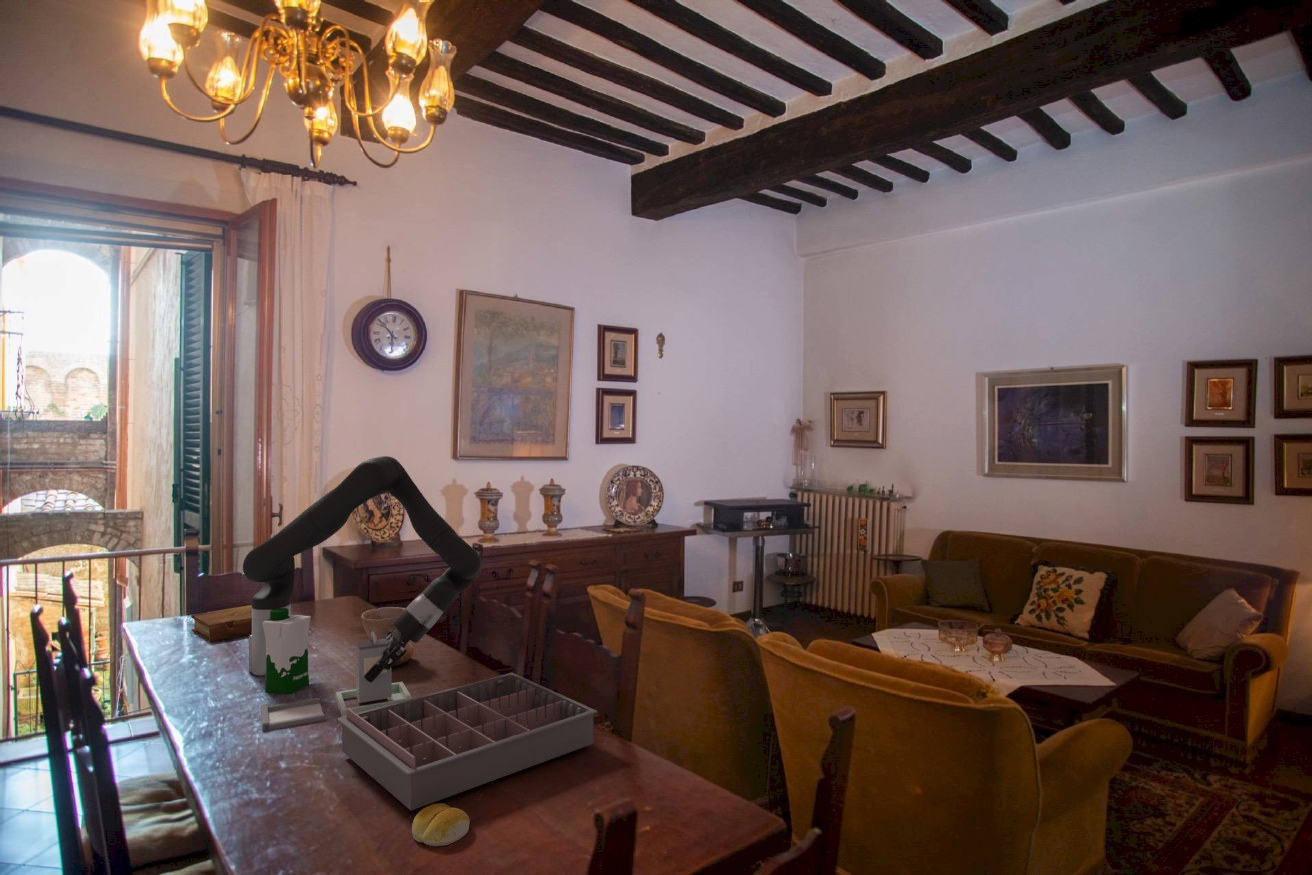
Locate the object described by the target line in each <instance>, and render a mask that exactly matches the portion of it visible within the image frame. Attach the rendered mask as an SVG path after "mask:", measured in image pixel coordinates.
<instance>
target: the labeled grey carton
mask: <svg viewBox="0 0 1312 875" xmlns="http://www.w3.org/2000/svg"><path fill="white" fill-rule="evenodd" d="M389 644H390V643H388V640H386V638H385V639H377V640H376V635H375V633H374V632H371V640H370V641H369V640H366V641H365V640H364V641H357V642H356V644H355V679H356V680H355V681H356V682H355V685H356V686H355V687H356V688H355V689H356V696H357V697H356V698H357V701H358V703H359V704H362V703H368V702H373V701H379V700H385V699H387V698H392V683H393V682H392V667H391V668H390V669H389V670H387V669H385V670H383V671H382V672H381V673H380V674H379V675H378V676H377V677H376V678H375V679H374V681H373V682H369V681H367V680H366V679H365V678H364V676H365V674H366V673H367V672H368V671H369V670H370V669H371V668H372V667H373V666H374V664H376V662H377V661H378V660H379V658H380V657H381V656H382V652H383V651H384V650H385V648H386V647H387V646H388V645H389ZM390 647H391V646H390ZM390 647H389V648H390ZM387 653H389V649H388V650H387ZM387 661H388V659H387V660H386V662H387Z"/></svg>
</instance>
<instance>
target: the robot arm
mask: <svg viewBox="0 0 1312 875" xmlns="http://www.w3.org/2000/svg"><path fill="white" fill-rule="evenodd" d="M387 493H388V494H389V495H391V496H392V497H393V498H395V499H396V500H397V501H398V502H399V503H400V504H401V506H402V507H403V509H404V510H405V512H406V514H407V516H408V519H409V521H410V524H411V526H412V528H413V530H414V531H415V533H416V534H417V535H418V537H419V538H420V539H421V540H422V541H423V542H424V543H425V544H426V546H428V547H429V548H430V549H431V550H432V551H433V552H434V553H435V554H437V555H439V557H440V558H441V559H442V561H444V563H445V564H446V565H447V566H448V568H447V569H446V570H445V571H444V572H443V574H442V575H440V576H439V577H436V578H435V579H434V580H432V581H431V582H430V583H429V584H428V585H427V586H426V587H425V588H424V590H422V592H421V593H419V595H418V596H416V597H415V598H414V599H413V600H412V601H411V602H410V603H409V604H408V605H407V606H406V607H405V610H404V611H403V612H402V613H401V614H400V615H399V616H398V617H397V619H396V620H395V621H394V622H393V624H394V626H395V627H396V628H397V629H396V630H395V631H394V632H393V633H392V632H391V631H388V632H387V633H386V635H385V636H384V637H383V638H382V639H385V638H386V640H388V643H390V644H389V645H388V646H387V647H386V648H385V650H384V651H383V652H382V656H381V657H380V658H379V660H378V661H377V662H376V664H374V666H373V667H372V668H371V669H370V670H369V671H368V672H367V673H366V674H365V676H364V678H365V679H366V680H367V681H369V682H373V681H374V679H375V678H376V677H377V676H378V675H379V674H380V673H381V672H382V671H383V670H385V669H387V670H389V669H390V668H391V669H392V666H393V665H394V664H395V663H396V662H397V661H398V660H399V659H400V658H401V657H402V656H403V655H404V654H405V653H406V652H407V650H406V649H405V646H406V645H407V643H408V642H409V643H410V641H411V642H413V643H414V644H418V643H419V642H420V641H421V639H422V638H424V636H425V635H426V634H427V633H428V632H429V631H430V629H431V628H432V627H433V626H434V625H435V624H436V623H437V621H439V619H440V617H441V616H442V615H443V613H445V612H446V610H447V609H448V608H449V607H450V605H452V604H453V602H454V601H455V599H457V597H458V596H459V595H460V594H462V592H463V591H465V590H466V589H467V588H468V587H469V586H470V585H472V583H473V582H475V580H476V579H477V578H478V577H480V574H481V573H482V570H483V565H484V564H483V560H482V558H481V556H480V554H479V553H478V552H477V551H476V550H475V549H474V548H473V547H472V546H471V545H470V544H469V543H468V542H466V541H465V540H464V539H463V538H462V537H461V536H459V534H458V533H457V532H456V530H454V528H453V527H452V526H451V525H450V524H449V523H448V522H447V521H446V520H445V519H444V518H443V517H442V516H441V514H439V513H438V512H437V511H436V510H435V508H434V507H433V506H432V505H431V504H430V503H429V501H428V499H427V498H425V496H424V494H423V493H422V492H421V491H420V488H418V486H417V485H416V483H415V482H414V481H413V479H412V478H411V476H410V475H409V473H408V471H407V470H406V469H405V467H404V466H403V465H402V464H401V463H400V461H399V460H398V459H396V458H394V457H393V456H387V455H385V456H378V457H373V458H369V459H365V460H363V461H362V462H360V463H359V464H358V465H357V466H356V467H355V468H353V470H352V471H350V473H349V474H348V475H347V476H346V477H345V478H344V479H343V480H342V481H341V482H340V483H339V484H338V485H337V486H336V487H334V488H333V489H332V490H330V491H329V492H327V493H326V494H324V495H323V496H321V498H319V499H318V500H316V501H315V502H314V503H312V504H311V505H309V506H308V507H307V508H306V509H304V511H302V512H301V513H300V514H299V515H298V516H297V517H295V518H294V519H293V520H292V521H291V522H290V523H288V524H287V525H286V526H284V527H283V528H282V529H281V530H280V531H279V532H277V533H276V534H275V535H273V536H271V537H270V538H269V539H266V541H264V542H262V543H261V544H258V545H257V546H256V547H254V548H253V549H251V550H249V552H248V553H247V554H246V556H245V557H244V559H243V562H242V572H243V575H244V577H246V578H247V579H248V580H250V581H251V582H254V583H264V584H263V586H262V587H261V589H259V591H258V592H256V593H255V594H253V596H252V597H251V605H252V635H248V672H249V673H252V674H253V675H254V676H266V637H265V633H264V628H263V624H262V622H264V621H266V620H268V619H270V611H271V610H273V609H277V608H287V609H288V610H289V615H292V614H291V613H292V609H291V608H292V606H291V600H292V596H293V594H294V590H295V575H296V574H295V573H296V566H295V565H296V563H295V562H296V561H295V556H297V555H299V554H301V553H303V552H306V551H308V550H310V549H313V548H315V547H316V546H318V545H319V546H320V544H323V543H324V542H326V541H327V540H328V539H330V538H331V537H332V536H334V535H335V534H336V533H337V532H339V531H340V530H341V529H342V527H344V526H345V524H346V523H347V522H348V520H349V518H350V516H351V515H352V513H353V512H354V511H355V510H356V509H357V508H359V507H360V506H361V505H364V503H366V502H368V501H369V500H372V499H373V498H375V497H377V496H381V495H384V494H387ZM390 646H391V647H390ZM389 647H390V648H389ZM388 649H389V653H387V650H388ZM387 659H388V661H387V662H386V660H387ZM393 667H394V666H393Z"/></svg>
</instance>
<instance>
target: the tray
mask: <svg viewBox="0 0 1312 875" xmlns="http://www.w3.org/2000/svg"><path fill="white" fill-rule="evenodd" d="M352 698H357V696H356V688H353V689H346V690H341V691H336V692H335V701H336V703H337V706H338V709H339V711H340V714H341V717H344V716H347V708H349V709H351V710H352V711H353V712H355V713H359V712H363V711H367V710H371V709H374V708H378V707H382V706H386V705H390V704H394V703H397V702H401V701H405V700H409V699H413V697H412V695H411V694H410V691H408V689H407V687H406V686H405V684H404V682H403V681H399V682H398V681H397V682H392V698H386V699H387V701H383V702H376V703H372V704H371V703H370V704H366V705H365V704H364V705H359V706H353V707H347V706H346V704H345V701H344V700H345V699H352Z"/></svg>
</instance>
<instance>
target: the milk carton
mask: <svg viewBox="0 0 1312 875" xmlns="http://www.w3.org/2000/svg"><path fill="white" fill-rule="evenodd" d="M311 618H312V616H311V615H303V614H291V615H289V610H288V609H287V608H277V609H273V610H271V611H270V619H268V620H266V621H264V622H262V624H263V628H264V633H265V637H266V675H265V688H264V693H269V694H280V695H292V694H294V693H296V692H298V691H301V690H302V689H304V688H306V687H307V686H310V677H309V676H310V675H309V674H310V673H309V630H310V629H309V628H310V624H311V620H312V619H311Z"/></svg>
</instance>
